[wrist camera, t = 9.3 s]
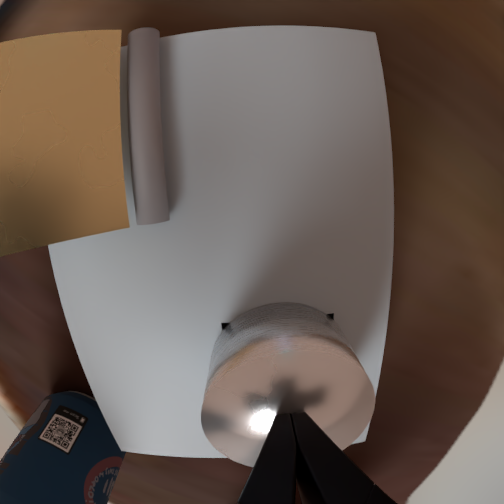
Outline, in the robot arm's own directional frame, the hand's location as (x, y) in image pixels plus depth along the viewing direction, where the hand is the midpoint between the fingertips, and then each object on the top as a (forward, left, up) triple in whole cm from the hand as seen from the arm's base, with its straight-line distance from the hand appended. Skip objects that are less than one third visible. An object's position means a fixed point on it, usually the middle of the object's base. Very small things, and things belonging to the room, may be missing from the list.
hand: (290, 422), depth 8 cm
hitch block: (+3, +2, -8) cm, 9 cm away
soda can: (-9, +14, -8) cm, 18 cm away
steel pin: (0, 0, -8) cm, 8 cm away
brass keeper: (+9, +9, +1) cm, 12 cm away
